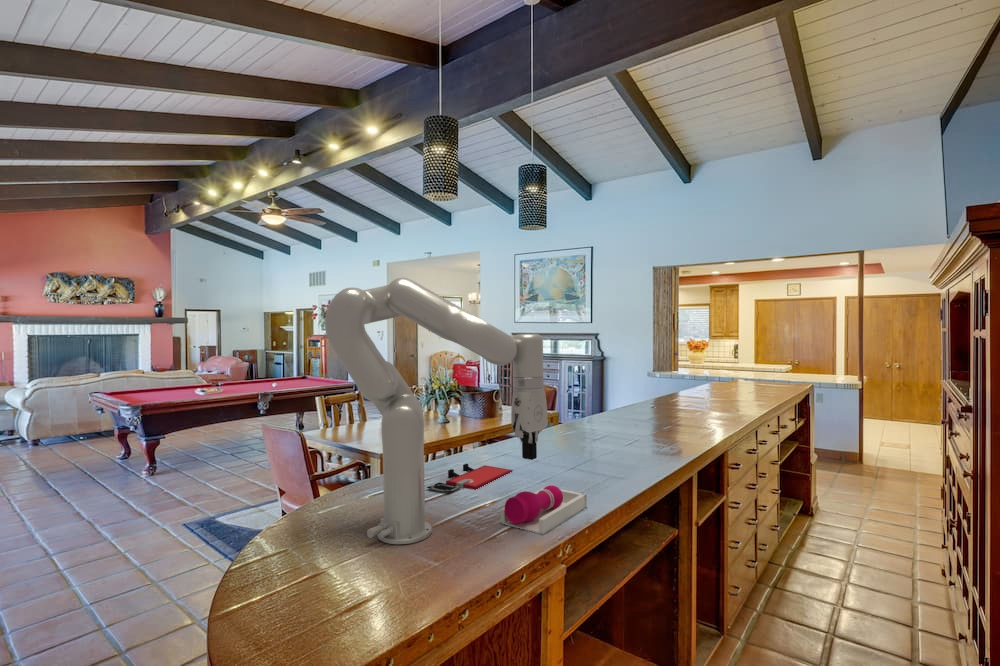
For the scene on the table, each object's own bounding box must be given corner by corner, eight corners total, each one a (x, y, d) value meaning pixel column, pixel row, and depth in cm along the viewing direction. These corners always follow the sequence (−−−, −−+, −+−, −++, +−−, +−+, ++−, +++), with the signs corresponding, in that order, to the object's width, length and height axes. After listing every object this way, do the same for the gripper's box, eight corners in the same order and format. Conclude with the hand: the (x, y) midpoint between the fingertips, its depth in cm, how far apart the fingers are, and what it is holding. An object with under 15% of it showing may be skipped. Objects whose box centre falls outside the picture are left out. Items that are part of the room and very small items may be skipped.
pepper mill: (511, 531, 120) (557, 512, 135) (530, 518, 116) (576, 500, 131) (498, 502, 123) (545, 487, 138) (517, 490, 119) (563, 475, 134)
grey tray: (543, 534, 115) (543, 519, 115) (500, 523, 123) (500, 509, 123) (586, 507, 133) (586, 494, 133) (546, 498, 140) (546, 486, 140)
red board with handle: (421, 489, 151) (461, 498, 143) (421, 480, 151) (461, 488, 143) (475, 467, 176) (512, 474, 169) (475, 459, 176) (512, 466, 169)
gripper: (524, 387, 114) (525, 467, 114) (556, 382, 126) (558, 454, 126) (497, 386, 118) (499, 463, 118) (531, 380, 130) (533, 450, 130)
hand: (529, 458), depth 122 cm, fingers closed
